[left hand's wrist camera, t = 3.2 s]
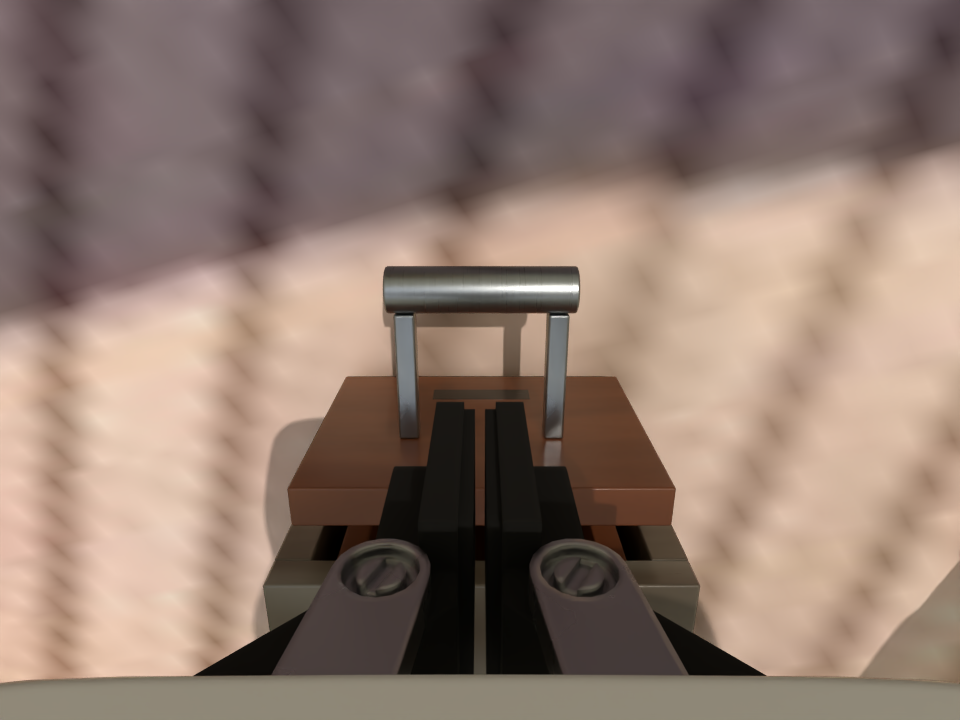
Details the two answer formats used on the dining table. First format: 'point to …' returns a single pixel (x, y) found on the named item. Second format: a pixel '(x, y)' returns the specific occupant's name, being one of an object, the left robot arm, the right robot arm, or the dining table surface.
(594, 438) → the drawer
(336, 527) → the grey storage box
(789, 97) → the dining table surface
